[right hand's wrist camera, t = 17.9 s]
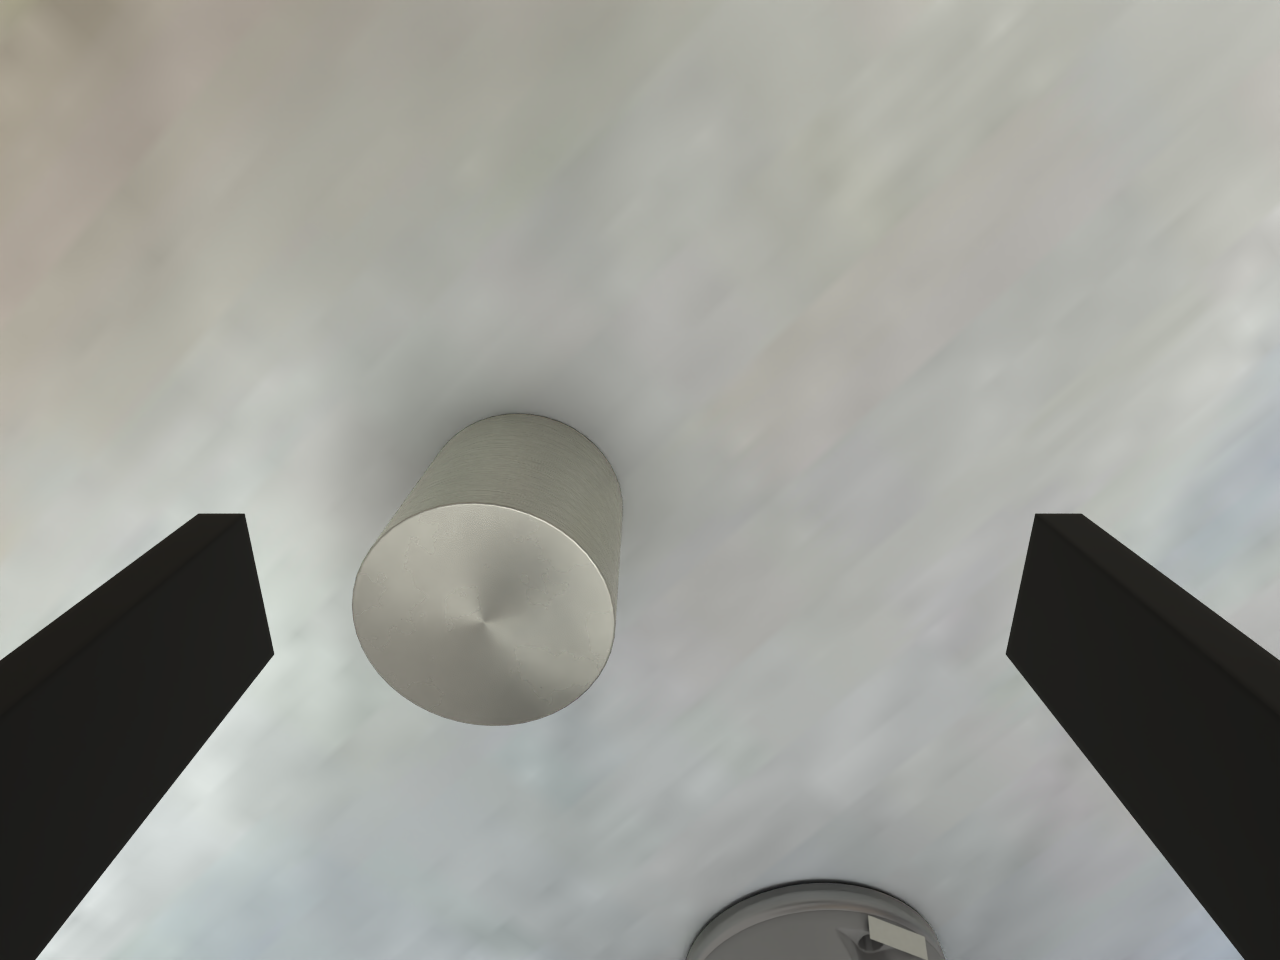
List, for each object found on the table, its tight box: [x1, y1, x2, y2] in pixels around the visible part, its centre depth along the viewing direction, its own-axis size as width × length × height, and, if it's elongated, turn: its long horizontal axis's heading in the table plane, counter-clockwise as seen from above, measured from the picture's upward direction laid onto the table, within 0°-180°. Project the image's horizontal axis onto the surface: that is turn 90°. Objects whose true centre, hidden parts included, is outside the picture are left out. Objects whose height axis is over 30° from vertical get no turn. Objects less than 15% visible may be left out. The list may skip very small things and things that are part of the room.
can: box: [352, 414, 623, 726], centre depth 29 cm, size 9×9×9 cm
